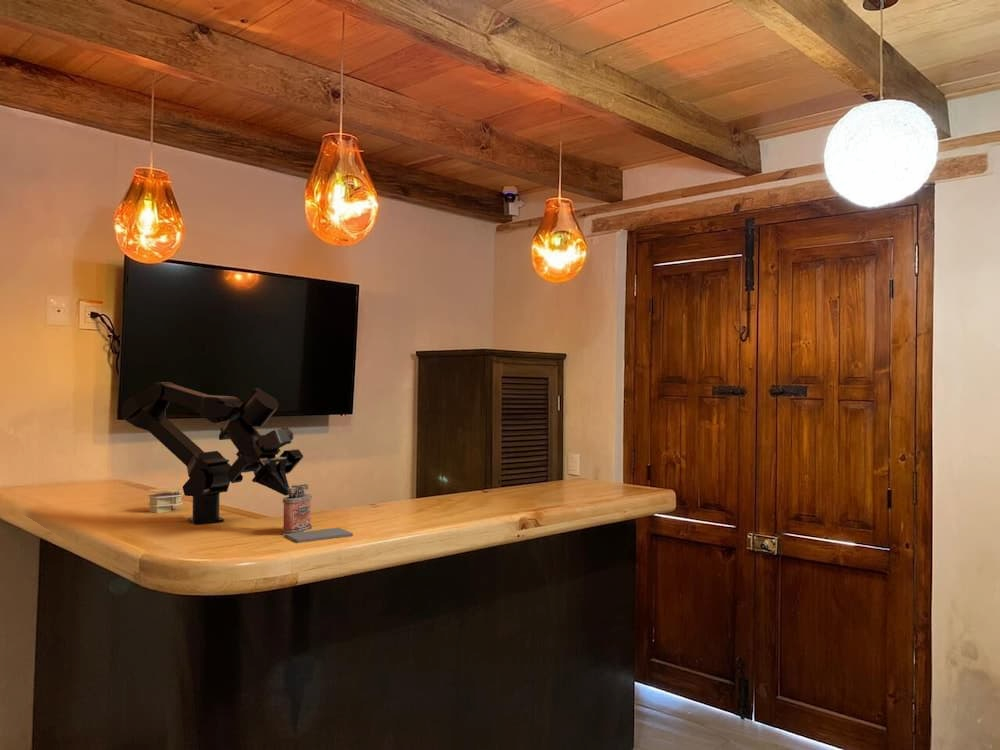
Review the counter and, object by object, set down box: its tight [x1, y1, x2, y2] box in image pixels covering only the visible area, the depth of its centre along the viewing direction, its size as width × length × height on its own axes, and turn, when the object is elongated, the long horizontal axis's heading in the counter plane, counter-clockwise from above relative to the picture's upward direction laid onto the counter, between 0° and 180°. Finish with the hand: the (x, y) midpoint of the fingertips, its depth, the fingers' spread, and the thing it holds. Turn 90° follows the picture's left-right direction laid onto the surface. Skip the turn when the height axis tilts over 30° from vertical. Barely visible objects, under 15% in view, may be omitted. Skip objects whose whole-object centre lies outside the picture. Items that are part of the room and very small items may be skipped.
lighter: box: [282, 483, 313, 535], centre depth 160 cm, size 8×3×10 cm, turn 158°
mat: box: [284, 527, 354, 543], centre depth 156 cm, size 7×12×1 cm, turn 126°
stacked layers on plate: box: [147, 486, 184, 514], centre depth 183 cm, size 10×9×6 cm
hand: (288, 494), depth 161 cm, fingers closed
